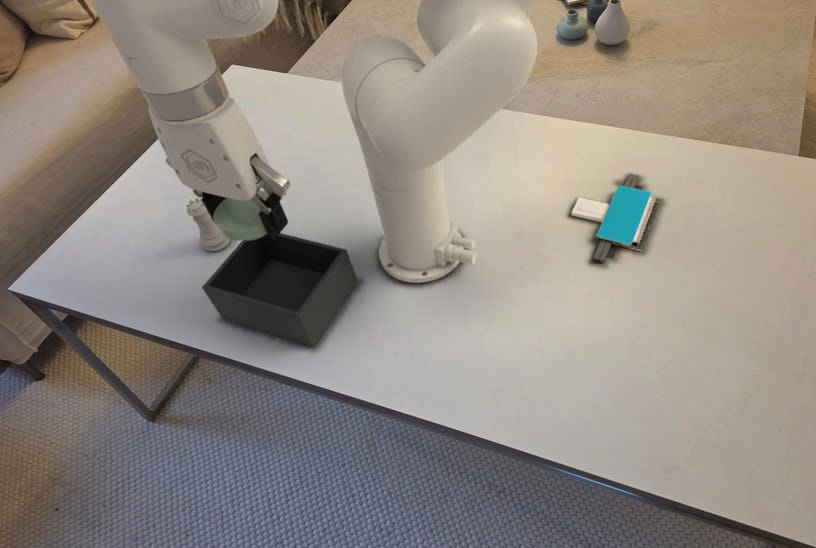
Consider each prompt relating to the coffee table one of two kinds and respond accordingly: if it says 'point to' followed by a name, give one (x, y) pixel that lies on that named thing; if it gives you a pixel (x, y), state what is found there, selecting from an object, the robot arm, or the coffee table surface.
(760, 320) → the coffee table surface
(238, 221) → the green round disc
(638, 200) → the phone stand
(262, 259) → the tub
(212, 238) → the rook chess piece
